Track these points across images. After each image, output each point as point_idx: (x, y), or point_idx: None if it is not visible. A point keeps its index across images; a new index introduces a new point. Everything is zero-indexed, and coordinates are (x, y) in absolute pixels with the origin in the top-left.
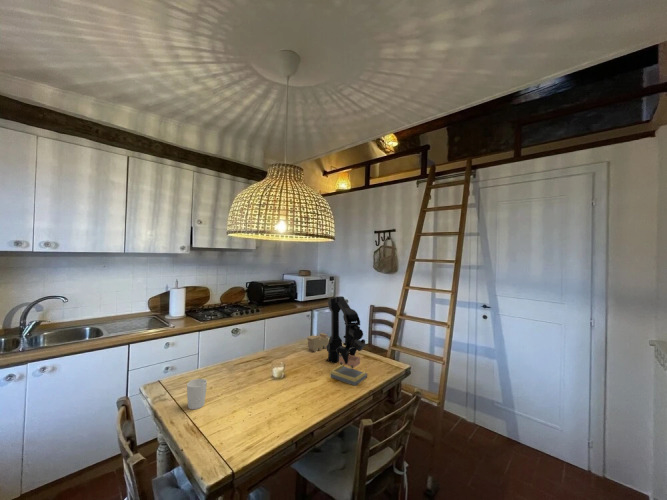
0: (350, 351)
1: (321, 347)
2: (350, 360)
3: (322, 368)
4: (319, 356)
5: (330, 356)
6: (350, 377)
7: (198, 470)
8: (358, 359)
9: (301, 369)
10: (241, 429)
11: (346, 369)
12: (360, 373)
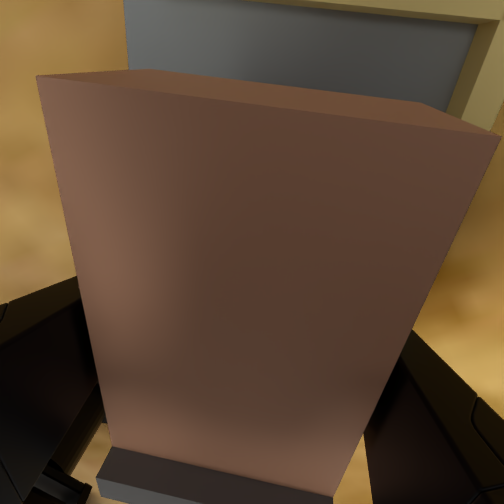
0: (32, 457)
1: None
2: (415, 287)
3: None
4: (102, 459)
5: (92, 437)
6: (500, 107)
7: None
8: (172, 88)
9: (337, 493)
10: None
11: None
12: (185, 59)
